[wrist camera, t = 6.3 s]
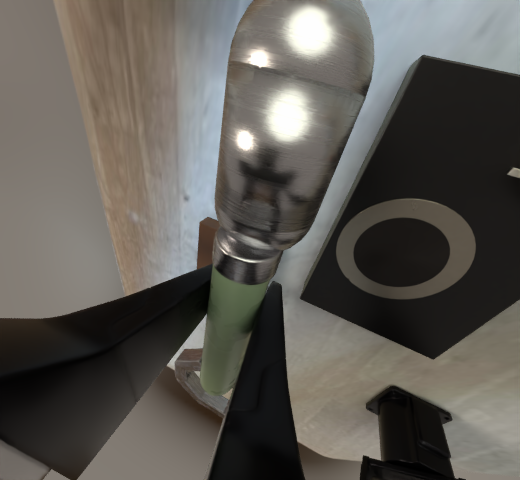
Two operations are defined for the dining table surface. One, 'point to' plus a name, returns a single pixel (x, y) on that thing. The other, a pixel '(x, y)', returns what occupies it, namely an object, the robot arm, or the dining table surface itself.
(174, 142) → the dining table surface
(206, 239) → the peg stand
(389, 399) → the robot arm
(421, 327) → the stove
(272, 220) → the green handled ring tool
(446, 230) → the burner
